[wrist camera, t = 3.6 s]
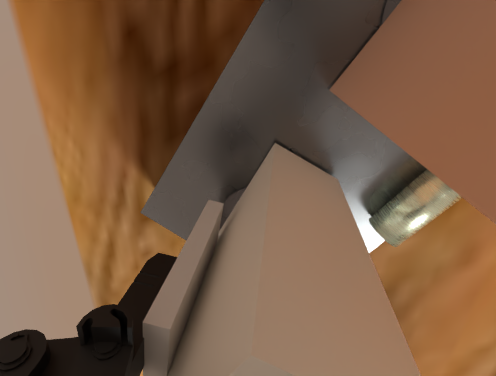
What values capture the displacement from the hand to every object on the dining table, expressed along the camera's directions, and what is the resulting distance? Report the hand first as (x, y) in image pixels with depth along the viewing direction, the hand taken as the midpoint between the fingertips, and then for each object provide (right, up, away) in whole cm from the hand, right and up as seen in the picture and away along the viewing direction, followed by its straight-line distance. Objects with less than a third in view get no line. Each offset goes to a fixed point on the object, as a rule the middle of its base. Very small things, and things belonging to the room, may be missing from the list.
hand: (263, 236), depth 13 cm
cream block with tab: (0, 0, +2) cm, 2 cm away
